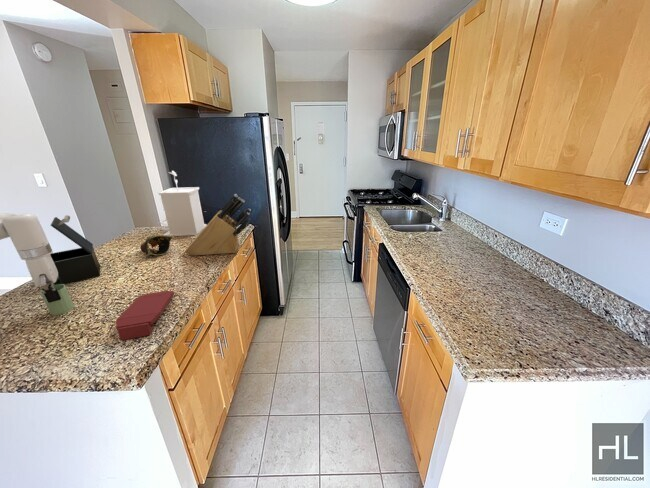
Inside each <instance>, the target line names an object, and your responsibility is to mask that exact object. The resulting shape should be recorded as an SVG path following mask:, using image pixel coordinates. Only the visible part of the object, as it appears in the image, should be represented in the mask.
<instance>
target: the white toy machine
mask: <svg viewBox="0 0 650 488" xmlns="http://www.w3.org/2000/svg"><path fill="white" fill-rule="evenodd" d="M167 173H168V174H171V176H172V175H173V180H174V183H175V186H176V187H170V188H167V189H165V190H162V191H159V192H158V196H160V199H161V203H162V206H163V207H162V208H163V211H164V215H165V218H164V219H162V220H160V221H159V222H158V224H160V225H164V226H167V227H168V230H167V231H166V232H165V233H163V234H162V236H171V235H174V236H173V237H183V236H185V237H186V236H198V235H199V234H200V233H201V231H202V230H203V229H204V228H205V227H206V226H207V223H205V219H204V216H203V210H202V206H201V205H202V204H201V200H200V194H199V190H200V186H194V187H193V186H190V187H185V186H184V187H178V179H176V177H178V174H177V172H175V170H171V171H168V172H167ZM164 222H167V223H166V224H165V223H164Z"/></svg>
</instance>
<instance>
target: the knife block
mask: <svg viewBox="0 0 650 488" xmlns="http://www.w3.org/2000/svg"><path fill="white" fill-rule="evenodd" d="M244 204H245V199H244V198H243V199H242V198H241V197H240V196H239V197H238V194H237V193H234V194H233V196H232V197H230V199H229V200H228V201H227V202H226V204H224V206H223V207H222V208H221V210H219V211H218V212H217V213H216V214H214V216H213V217H212V219H210V221H209V222H208V223H206V226H205V227H204V228H203V229H202V230H201V231H200V232H199V233H198V234H197V235H196V237H195V238H194V239H193V240H192V242H191V243H190V244H189V245H188V247H186V249H185V250H184V253H185V254H187V255H189V256H206V255H207V256H208V255H219V254H235V253H237V251H238V248H239V245H240V244H239V236H238V235H239V234H241V233H242V232H243V231H244V230H245V229H246V228H247V227H249V225H250V222H251V218H250V217H249V216H250V212H251V211H252V209H251V208H247V209H243V210H242V211H241V212H240V214H238V216H237V217H236V218H235V219H233V218H232V217H233V216H234V215H235V214H236V213H237V212H238V210H240V208H241V207H242V206H243V205H244ZM248 217H249V218H248Z"/></svg>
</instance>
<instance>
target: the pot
mask: <svg viewBox="0 0 650 488" xmlns="http://www.w3.org/2000/svg"><path fill="white" fill-rule="evenodd" d="M174 237H175V236H174V235H171V236H163V235H161V234H154V235H150V236H148V237H147V238H146V240H145V241H144V242H143V243H141V244H140V248H139V249H140V251H141V252H142V253H145V256H151V255H152V256H163V255H165V254H166V253H167V252H169V250H170V248H171V241H172V240H173V238H174ZM149 245H150V246H149ZM157 246H158V250H156V251H152V250H151V248H152V249H154V248H156V247H157ZM150 247H151V248H150Z"/></svg>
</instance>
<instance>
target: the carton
mask: <svg viewBox="0 0 650 488" xmlns="http://www.w3.org/2000/svg"><path fill="white" fill-rule="evenodd" d="M174 295H175V292H174V290H163V291H156V292H150V293H145V294H141V295H138V296H137V297H136V298H135V299H134V301H132V302H131V304H130V305H129V306H128V307H127V308H126V309H125V310H124V311H123V312H122V313H121V314H120V315H119V316H118V317H117V319H116V321H115V328H116V331H117V333H118V336H119V341H125V340H130V339H135V338H141V337H147V336H151V334H153V329H152V325H154V323H155V322H157V320H158V319H159V318H160V317H161V316H162V314H163V312H164V310H166V307H167V306H168V305H169V303H170V301H171V300H172V299H173V297H174Z"/></svg>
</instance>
